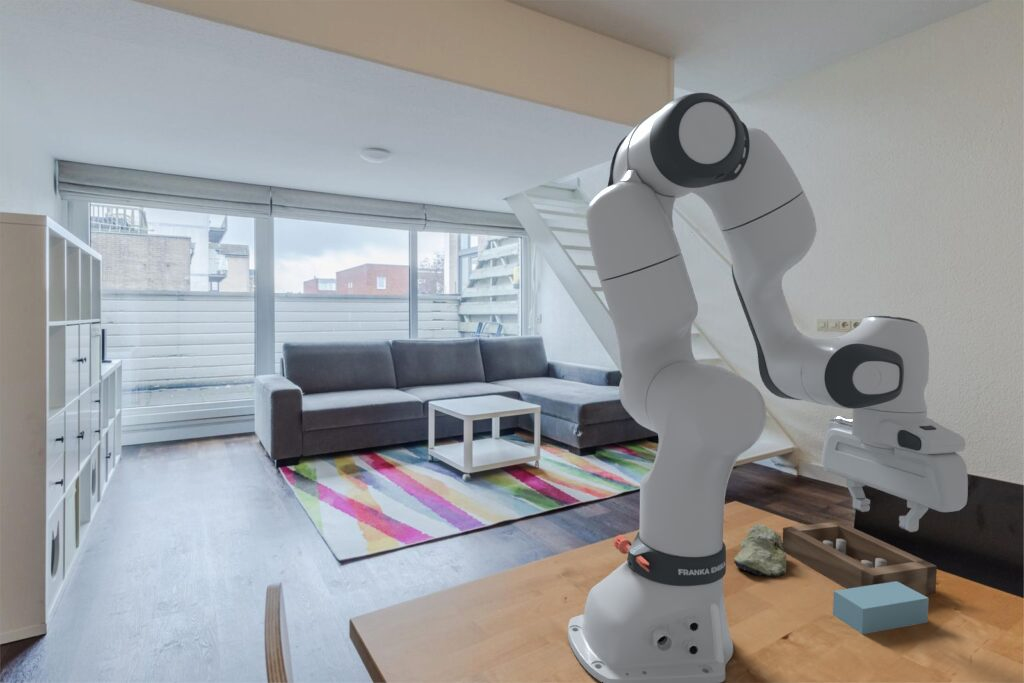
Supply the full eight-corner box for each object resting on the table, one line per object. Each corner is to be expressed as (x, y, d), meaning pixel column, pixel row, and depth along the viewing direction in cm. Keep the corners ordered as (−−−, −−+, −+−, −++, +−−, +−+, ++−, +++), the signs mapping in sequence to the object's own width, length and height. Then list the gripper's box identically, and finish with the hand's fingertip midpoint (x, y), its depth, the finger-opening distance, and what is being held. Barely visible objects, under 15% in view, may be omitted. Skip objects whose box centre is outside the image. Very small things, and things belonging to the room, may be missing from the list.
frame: (871, 603, 83) (873, 575, 83) (782, 550, 102) (783, 527, 102) (935, 592, 87) (936, 565, 86) (837, 543, 105) (838, 521, 105)
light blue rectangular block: (861, 636, 76) (863, 608, 75) (832, 616, 80) (833, 590, 80) (927, 624, 79) (928, 597, 78) (895, 605, 83) (896, 581, 83)
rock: (741, 583, 92) (802, 578, 91) (735, 547, 92) (796, 542, 91) (725, 556, 103) (779, 551, 101) (720, 524, 103) (774, 519, 101)
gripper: (813, 414, 87) (810, 497, 88) (941, 445, 67) (936, 551, 68) (844, 412, 89) (841, 494, 89) (979, 442, 69) (973, 546, 70)
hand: (883, 519), depth 79 cm, fingers open, 6 cm apart
